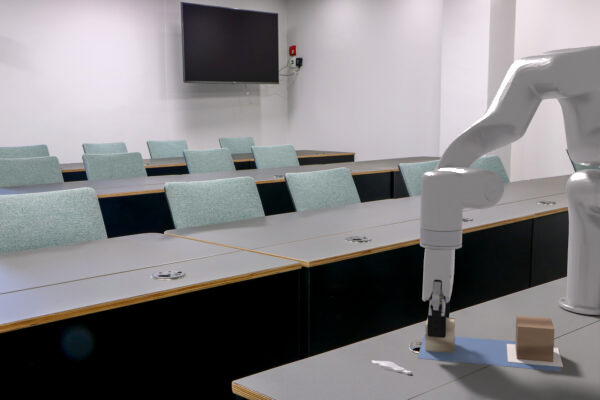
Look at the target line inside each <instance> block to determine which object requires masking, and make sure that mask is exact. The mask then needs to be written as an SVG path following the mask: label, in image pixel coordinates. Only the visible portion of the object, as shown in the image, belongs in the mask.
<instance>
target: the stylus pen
mask: <svg viewBox="0 0 600 400" xmlns="http://www.w3.org/2000/svg"><path fill="white" fill-rule="evenodd" d="M371 363H373V364H375V365H377V366H378V367H380V369H384V370H387V371H391V372H394V373H395V372H396V373H400V374H405V375H412V374H413V371H412V370H408V369H406V368H404V367H402V366H399V365H397V364H396V363H395V362H393V361H390V360H388V361H387V360H374V359H373V360H372V359H371Z"/></svg>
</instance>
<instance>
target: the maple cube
mask: <svg viewBox="0 0 600 400" xmlns="http://www.w3.org/2000/svg"><path fill="white" fill-rule="evenodd" d="M427 326H428V317H427V319H426V321H425V330H424V335H425V351H436V352H447V353H453V350H454V344H455V336H456V335H455V331H456V318H455V317H449V318H446V336H445V338H439V337H429V336H428V335H427Z"/></svg>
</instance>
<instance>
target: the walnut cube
mask: <svg viewBox="0 0 600 400" xmlns="http://www.w3.org/2000/svg"><path fill="white" fill-rule="evenodd" d="M515 341H516V342H515V348H516V356H517V359H521V360H533V361H545V362H553V354H554V347H555V327H554V323H553V321H552V318H549V317H548V318H547V317H535V316H522V315H521V316H520V315H516V317H515Z"/></svg>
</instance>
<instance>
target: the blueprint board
mask: <svg viewBox="0 0 600 400" xmlns="http://www.w3.org/2000/svg"><path fill="white" fill-rule="evenodd" d="M515 342H516V340H515V341H514V340H505V339H503V340H502V339H491V338H490V339H489V338H478V337H467V336H456V335H455V344H454V350H453V353H447V352H436V351H425V334H424V336H423V338H422V343H421V345H420V348H419V352H418V355H417V359H421V360H431V361H443V362H452V363H455V362H456V363H462V364H463V363H465V364H473V365H474V364H475V365H485V366H497V367H509V368H516V369H517V368H518V369H529V370H541V371H552V372H562V368H564V365H563V361H562V358H561V354H560V352H559V348H558V347H555V346H554V354H553V362H545V361H533V360H521V359H517V356H516V348H515Z"/></svg>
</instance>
